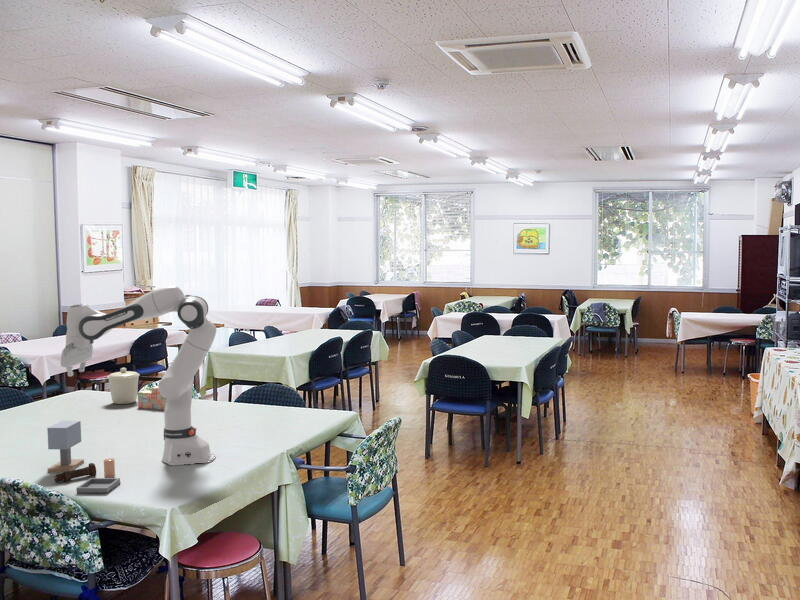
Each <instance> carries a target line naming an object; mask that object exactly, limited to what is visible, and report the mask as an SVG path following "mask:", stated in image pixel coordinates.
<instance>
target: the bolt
mask: <svg viewBox="0 0 800 600" xmlns="http://www.w3.org/2000/svg"><path fill="white" fill-rule="evenodd" d="M90 475H91V476H92V477H91V476H90ZM86 476H90V477H91V478H94V477H96V476H97V467H96V464H95V463H93V462H91V463H88V466H85V467H82V468H78V469H77V468H76V469H74V470H72V471H69V470H64V471H63V472H59V473H57V474H55V475H54V476H53V479H54V482H55V483H60V482H65V483H68V482H69V481H70V482H71V481H72V480H73V479H77V478H82V477H86ZM93 476H94V477H93Z"/></svg>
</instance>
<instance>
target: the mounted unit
mask: <svg viewBox="0 0 800 600" xmlns="http://www.w3.org/2000/svg"><path fill="white" fill-rule="evenodd" d="M81 424H82V423H81V420H61V421H58V422H57V423H55V424H53V425H50V426H49V427H46V429H47V445H48V446H47V447H48V450H59V457H60V461H58V462H56V463H55V464H53V465H51V466H50V467H48V468H46V469H47V473H63V471H64V470H69V471H71V470H72V471H73V469H74V468H75V469H77V468H78V467H80V466H81V465H83V464H84V463H85V460H84V459H78V458H77V459H72V453H71V452H72V450H71V449H72V447H74V446H76V445H78V444H79V443H81V442H82V429H81V428H82V425H81ZM82 463H83V464H82ZM79 465H80V466H79ZM76 467H77V468H76ZM75 469H74V470H75Z"/></svg>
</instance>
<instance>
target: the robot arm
mask: <svg viewBox="0 0 800 600" xmlns="http://www.w3.org/2000/svg"><path fill="white" fill-rule="evenodd" d="M208 304H209V303H208V302H207V301H206V299H204V298H203V297H201V296H198V295H197V296H196V295H190V294H186V295H184V292H183V290H182V289H181V288H180V287H178V286H177V285H170V286H165V287H164V286H163V287H160V288H158V289H157V288H156V289H154V290H151V291H149V292H146V293H144V294H143V295H141V296H139V297H138V298H137V299H135V300H133V301H132V302H130V303H129V304H128V305H126V306H124V307H122V308H120V309H117V310H114V311H111V312H109V313H105V312H103V311H102V312H101V311H98V310H97V309H94V307H91V306H90V305H89V304H87V303H79V304H73V305H71V306H69V308H68V310H67V314H66V322H65V323H66V334H65V347H64V348H63V349H62V351H61V356H60V367H61V368H65V369H66V372H67V376H68V377H70V378H71V377H73V376H74V371H73V367H74V366H76V365H79V367H78V372H79V373H84V372H85V367H86V366H87V362H88V361H90V360H91V359H92V357H93V349H94V347H93V346H94V345H93V344H94V342H95V340H99V339H100V338H101V337H102V336H104V335H106V334H108V333H110V331H112V329H114V328H117V327H119V326H122V325H125V324H127V323H132V322H137V321H142V320H148V319H149V320H150V319H153V318H157V317H161V316H164V315H166V314H169V313H173V312H176V313H177V317H178V319H179V320H180V321H181V322H182V323H183V324H184V325H185V326H186V327H188V329H189V331H188V333H187V335H186V337H185V339H184V341H183V343H182V344H181V346H180V348H179V350H178V352H177V354H176V356H175V357H174V359H173V360H172V362H171V363H170V365H169V366H168V367H167V370H166V371H165V373H164V374H163V376H162V378H161V379H160V382H159V383H158V385H157V386H158V390H159V393H160V394H161V396H163V397H164V398H166V405H165V409H163V410H164V411H163V413H164V415H163V416H164V417H163V419H164V428H163V440H164V446H163V447H164V449H163V454H162V458H161V462H162V463H165V464H168V466H171V465H172V466H185V465H184V464H191V465H195V464H194V463H206V462H208V461H211V460H212V459H213V458H214V457H215V455H216V453H215V452H211V448H210V444H209V442H208V441H206V440H205V439H203V438H201V437H200V436H198V435H197V430H198V429H197V427H196V426H195V427H194V426H193V425H192V400H193V393H194V392H193V390H194V382H195V381H194V380H195V375H197V374H196V373H197V372H198V370H199V369H200V367H201V366H202V365H203V362H204V361H205V359H206V357H207V355H208V353H209V351H210V350H211V348H212V345H213V343H214V340H215V338H216V334H217V327H216V325H215V324H214V323H213V322H212V321H210V320H208V318H207V315H208V313H209V305H208ZM215 458H216V457H215ZM212 461H213V460H212ZM212 461H211V462H212ZM206 464H207V463H206Z"/></svg>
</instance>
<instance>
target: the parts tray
mask: <svg viewBox="0 0 800 600" xmlns="http://www.w3.org/2000/svg"><path fill="white" fill-rule="evenodd" d="M118 484H119V485H121V478H120V477H114V478H104V477H91V478H89V479H87V480H86V481H84V482H83V483H81V484H80V485H79V486H77V487H76V494H77V495H86V494H88V495H96V494H97V495H108V494H109V493H110V492H112V491H113V490H114V489H115V488H116V486H117V485H118ZM119 485H118V486H119ZM118 486H117V487H118ZM112 489H113V490H112Z"/></svg>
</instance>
